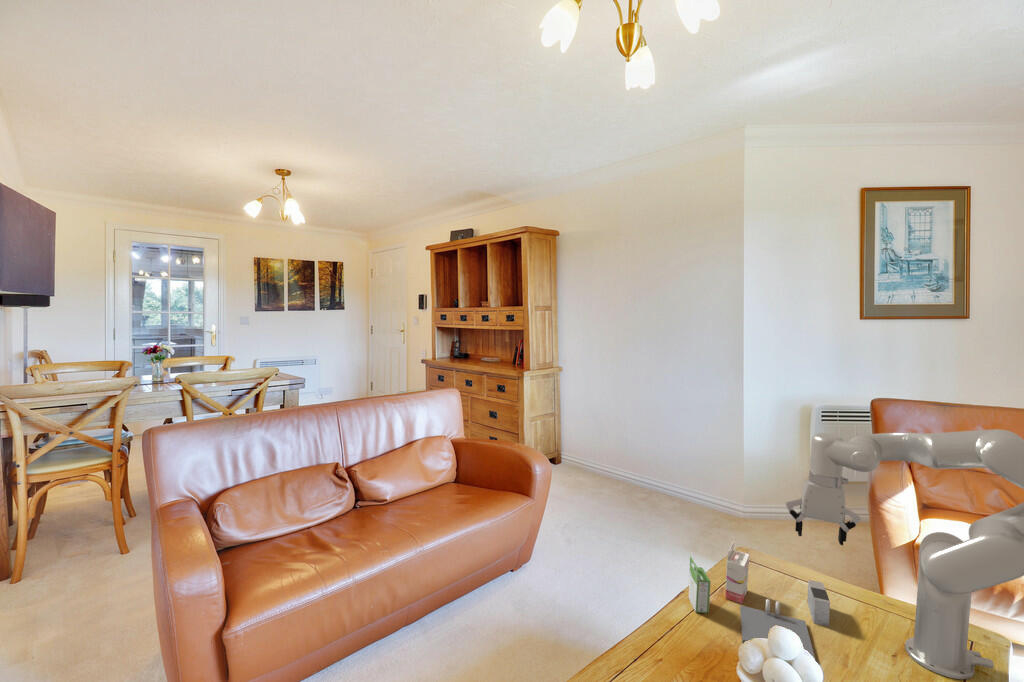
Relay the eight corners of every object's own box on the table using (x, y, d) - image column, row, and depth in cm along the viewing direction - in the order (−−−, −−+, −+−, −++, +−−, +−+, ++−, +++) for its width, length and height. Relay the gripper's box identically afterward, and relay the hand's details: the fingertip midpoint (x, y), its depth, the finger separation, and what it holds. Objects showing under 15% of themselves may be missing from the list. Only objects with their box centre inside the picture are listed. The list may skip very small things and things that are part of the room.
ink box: (709, 614, 132) (711, 568, 131) (695, 613, 132) (696, 568, 131) (701, 598, 139) (703, 555, 138) (688, 597, 139) (689, 554, 138)
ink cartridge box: (743, 605, 136) (745, 556, 135) (724, 598, 139) (726, 551, 138) (748, 590, 143) (750, 544, 142) (730, 584, 146) (732, 539, 144)
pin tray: (804, 624, 128) (805, 606, 127) (815, 662, 114) (816, 643, 114) (740, 608, 134) (740, 592, 134) (742, 643, 120) (743, 624, 120)
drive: (821, 605, 136) (822, 582, 135) (828, 627, 127) (830, 602, 126) (807, 602, 137) (808, 579, 137) (813, 623, 128) (814, 599, 128)
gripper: (860, 480, 127) (855, 540, 129) (787, 469, 135) (783, 525, 137) (866, 490, 121) (860, 553, 122) (789, 477, 129) (784, 536, 130)
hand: (819, 538), depth 130 cm, fingers open, 9 cm apart
